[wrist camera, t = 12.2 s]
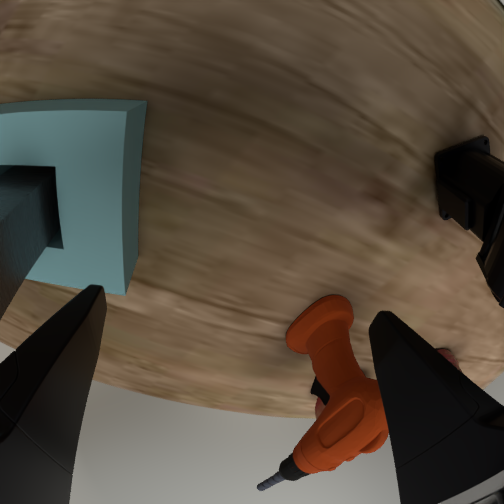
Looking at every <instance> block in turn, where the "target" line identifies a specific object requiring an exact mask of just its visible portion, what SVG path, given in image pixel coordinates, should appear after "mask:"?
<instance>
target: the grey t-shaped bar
mask: <svg viewBox="0 0 504 504" xmlns="http://www.w3.org/2000/svg"><path fill="white" fill-rule="evenodd" d="M60 228H61V226H60V218H59V208H58V198H57V185H56V167H55V166H32V165H14V166H13V167H11V168H10V169H8V170H7V171H5V172H4V173H3V174H1V175H0V320H1V318H2V316H3V315H4V313H5V311H6V309H7V307H8V306H9V304H10V302H11V301H12V299H13V297H14V296H15V294H16V292H17V291H18V289H19V287H20V286H21V284H22V283H23V281H24V279H25V278H26V276H27V275H28V273H29V272H30V270H31V269H32V267H33V266H34V264H35V263H36V261H37V260H38V258H39V257H40V255H41V254H42V252H43V251H44V250H45V248H46V247H47V245H48V244H49V243H50V241H51V240H52V239H53V237H54V236H55V235H56V233H57V232H58V231H59V229H60Z"/></svg>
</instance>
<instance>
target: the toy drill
mask: <svg viewBox="0 0 504 504" xmlns="http://www.w3.org/2000/svg"><path fill="white" fill-rule="evenodd" d="M353 319H354V316H353V309H352V306H351V304H350V302H349V301H348V300H347V299H346V298H345V297H343V296H339V295H330V296H326V297H324V298H322V299H320V300H318V301H317V302H315V303H314V304H312V305H311V306H310V307H309V308H308V309H306V310H305V311H304V312H303V313H302V314H301V315H300V316H299V317H298V318H297V319H296V320H295V321H294V322H293V323H292V325H291V326H290V327H289V329H288V331H287V334H286V343H287V346H288V347H289V348H290V349H291V350H293V351H294V352H297V353H300V354H309V356H310V358H311V360H312V367H313V370H314V372H315V374H316V377H315V379H314V382H313V385H312V388H311V394H314V395H316V396H318V397H319V398H320V399H321V400H322V402H323V404H324V405H325V408H324V409H323V411H322V412H321V414H320V415H319V417H318V418H317V420H316V421H315V422H314V424H313V425H312V426H311V427H310V429H309V430H308V431H307V433H305V435H304V436H303V437H302V439H301V440H300V441H299V443H298V444H297V445H296V447H295V448H294V450H293V453H292V454H291V455H289V457H288V458H286V459H285V460H284V461H282V462H281V464H280V467H279V472H277V473H275V474H274V475H273V476H271V477H270V478H268V479H266V480H265V481H263V482H262V483H260V484H258V485H257V489H258V490H260V491H263V490H265V489H267V488H269V487H271V486H273V485H275V484H276V483H279V482H281V481H283V480H285V479H286V480H291V481H295V480H298V479H300V478H301V477H304V476H307V475H309V474H311V473H312V474H313V473H317V472H320V471H332V470H335V469H336V467H338V466H339V465H341V464H342V462H344V461H351V460H353V459H354V458H355V457H356V456H357V455H359V454H361V453H371V452H375V451H376V450H377V449H379V448H380V447H381V446H382V445H383V444H384V442H385V441H386V439H387V437H388V433H389V430H388V425H387V421H386V416H385V411H384V407H383V403H382V398H381V394H380V390H379V386H378V381H377V380H374V379H370V378H367V377H365V375H364V374H363V372H362V370H361V369H360V367H359V365H358V363H357V361H356V359H355V357H354V354H353V351H352V347H351V344H350V338H349V329H350V327H351V325H352V323H353Z"/></svg>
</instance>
